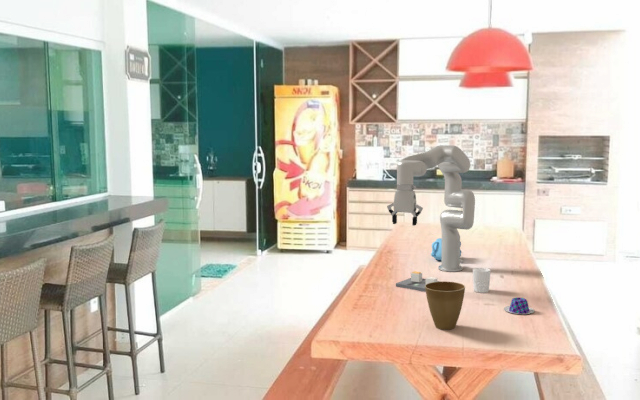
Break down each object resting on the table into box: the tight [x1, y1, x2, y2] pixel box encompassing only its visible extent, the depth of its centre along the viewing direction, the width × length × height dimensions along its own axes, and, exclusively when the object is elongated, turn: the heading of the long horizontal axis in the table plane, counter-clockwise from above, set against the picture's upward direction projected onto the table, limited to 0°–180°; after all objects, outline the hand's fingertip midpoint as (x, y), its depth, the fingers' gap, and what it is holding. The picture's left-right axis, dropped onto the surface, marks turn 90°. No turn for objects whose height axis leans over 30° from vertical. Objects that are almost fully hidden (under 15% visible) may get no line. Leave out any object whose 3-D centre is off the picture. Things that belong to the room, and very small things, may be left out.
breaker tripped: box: [410, 270, 423, 282], centre depth 303 cm, size 3×4×4 cm
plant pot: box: [425, 281, 466, 331], centre depth 240 cm, size 15×15×16 cm
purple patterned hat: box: [503, 297, 535, 315], centre depth 260 cm, size 12×12×5 cm
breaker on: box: [425, 276, 438, 284], centre depth 292 cm, size 3×4×4 cm
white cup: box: [472, 267, 491, 294], centre depth 291 cm, size 8×8×10 cm
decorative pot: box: [430, 237, 462, 261], centre depth 357 cm, size 16×16×14 cm
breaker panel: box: [395, 277, 442, 293], centre depth 299 cm, size 16×24×2 cm, turn 50°
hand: (404, 224), depth 296 cm, fingers open, 9 cm apart
